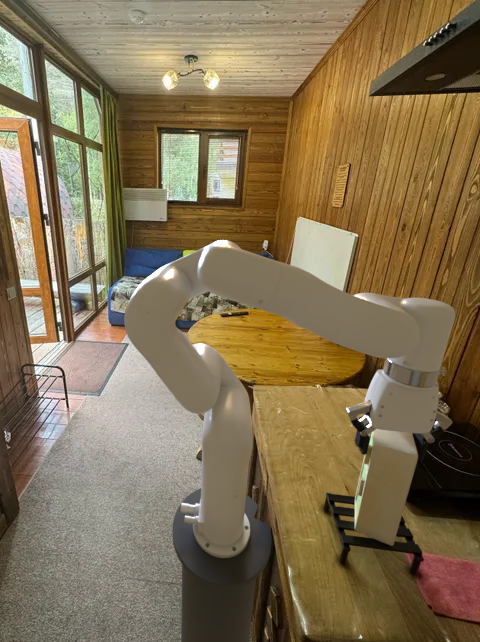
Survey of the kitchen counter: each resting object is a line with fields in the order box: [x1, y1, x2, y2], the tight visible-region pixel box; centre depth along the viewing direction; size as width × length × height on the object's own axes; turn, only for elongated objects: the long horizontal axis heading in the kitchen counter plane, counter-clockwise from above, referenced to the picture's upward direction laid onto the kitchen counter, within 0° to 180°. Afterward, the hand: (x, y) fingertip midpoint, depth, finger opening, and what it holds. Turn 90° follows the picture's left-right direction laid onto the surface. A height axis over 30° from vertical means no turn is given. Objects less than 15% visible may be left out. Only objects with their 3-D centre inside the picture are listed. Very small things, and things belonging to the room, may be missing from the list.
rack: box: [323, 492, 425, 576], centre depth 63 cm, size 14×12×5 cm
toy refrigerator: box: [354, 429, 419, 546], centre depth 59 cm, size 8×7×21 cm
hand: (388, 451), depth 57 cm, fingers open, 9 cm apart
